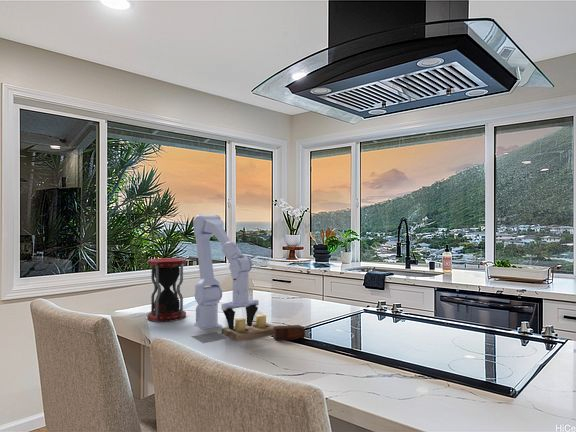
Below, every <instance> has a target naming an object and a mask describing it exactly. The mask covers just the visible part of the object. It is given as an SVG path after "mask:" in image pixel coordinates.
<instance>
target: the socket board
mask: <svg viewBox="0 0 576 432" xmlns="http://www.w3.org/2000/svg"><path fill="white" fill-rule="evenodd" d="M274 326H275V325H274V324H271V323H269V322H266V328H260V329H258V328H256V321H255V322H252V326H248V325H247V323H246V331H244V332H238V333H237V332H235V325H234V328H233V330H231V329H229V326H228V327H222V328H221V334H222V335H224V336H226V337H228V338H231V339H233V340H235V341H238V342H239V341H243V340H249V339H254V338H258V337H264V336H269V335H273V333H274V332H273V331H274V330H273V329H274Z"/></svg>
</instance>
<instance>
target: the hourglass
mask: <svg viewBox="0 0 576 432" xmlns="http://www.w3.org/2000/svg"><path fill="white" fill-rule="evenodd" d="M184 264H187V259H186V258H183V257H182V258H180V257H163V258H161V257H160V258H149V259H147V265H149V266H151V282H152V284H153V286H154V289H153V292H152V293H151V297H150V298H151V300H150V305H151V306H150V307H151V309H150V310H151V311H150V312H149V313H147V315H146V319H147V320H148V321H152V322H156V323H157V322H162V323H163V322H172V321H173V322H174V321H179V320H180V321H181V320H182V319H184V318H186V317H187V311H185V310H184V297H183V294H182V293H181V285H182V284H183V282H184ZM178 279H179V282H178V284H177V281H178ZM162 287H163V289H162ZM171 287H172V290H171ZM156 293H157V294H156ZM155 295H156V297H155ZM178 296H179V297H178Z"/></svg>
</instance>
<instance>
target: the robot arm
mask: <svg viewBox="0 0 576 432" xmlns="http://www.w3.org/2000/svg"><path fill="white" fill-rule="evenodd" d="M223 223H224V222H223V220H222V218H221V216H220V215H218V214H212V215H211V214H209V215H208V214H207V215H206V214H205V215H203V214H202V215H201V214H197V215H196V216H195V217H194V220H193V221H192V224H193V225H192V226H193V232H194V233H193V235H194V237H195V245H196V251H197V260H198V268H199V277H200V280H199V281H198V282H197V283H196V284H195V285H194V288H195V289H194V291H195V292H194V299H195V301H196V303H197V305H196V307H195V322H194V323H193V325H194V326H196V327H199V328H200V329H202V330H206V329H212V328H218V327H223V324H220V323H218V320H219V317H218V316H219V312H218V309H219V306H218V304H219V303H220V301H221V300H222V298H223V290H222V288H221V283H220V281H218V280H217V279H216V278H215V276H214V267H213V260H212V259H213V258H212V252H211V251H212V250H211V242H210V241H211V240H210V239H211V238H212V237H213V236H214V237H215V239H217V241H218V242H219V243H220V245H221V246H222V248H221V251H222V253H223V255H224V256H225V257H226V259H227V261H228V262H229V265H228V266H229V270H230V273H231V274H230V275H231V279H232V301H230V302H226V303H221V305H220V307H221V310H222V312H223V314H224V316H225V318H226V321H227V325H228V327H229V329H231V330H233V328H234V326H235V315H236V311H235V310H234V309H239V308H245V312H246V324H247V325H248V326H252V323H254V322H253V321H254V318H255V317H256V313H257V311H258V309H259V300H258V299H249V273H250V272H251V270H252V267H253V262H252V260H251V258H250V257H249V256H248V255H247V256H246V255H245V254H243V252H242V251H241V249H240V248H239V246H238V244H237V243H236V242H235V241H231V239H230V238H229V236H228V234H227V232H226V230H225V229H224V227H223V225H224V224H223Z"/></svg>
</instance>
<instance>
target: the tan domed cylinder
mask: <svg viewBox="0 0 576 432" xmlns="http://www.w3.org/2000/svg"><path fill="white" fill-rule="evenodd" d="M255 322H256V328H258V329H260V328H266V323H267V315H266V314H257V315H256V314H255Z"/></svg>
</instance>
